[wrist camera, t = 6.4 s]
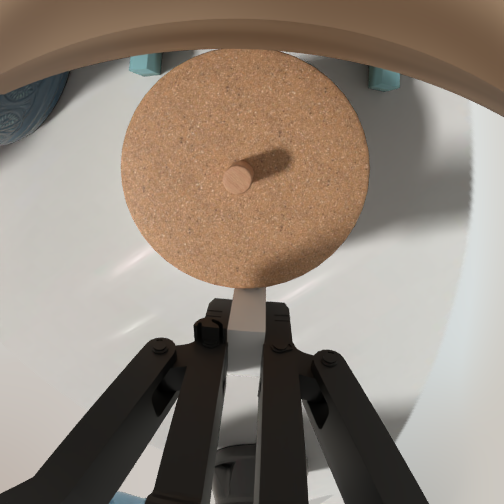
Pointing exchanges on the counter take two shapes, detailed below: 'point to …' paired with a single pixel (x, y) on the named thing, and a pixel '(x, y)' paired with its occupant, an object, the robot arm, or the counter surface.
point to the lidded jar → (245, 167)
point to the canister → (28, 107)
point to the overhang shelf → (264, 37)
